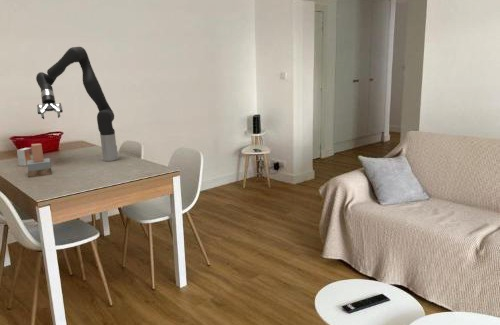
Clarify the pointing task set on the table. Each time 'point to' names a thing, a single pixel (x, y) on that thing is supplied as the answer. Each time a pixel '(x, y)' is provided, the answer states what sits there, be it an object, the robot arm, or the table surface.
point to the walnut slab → (39, 172)
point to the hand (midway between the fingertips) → (51, 117)
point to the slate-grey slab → (39, 165)
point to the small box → (24, 156)
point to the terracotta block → (37, 152)
